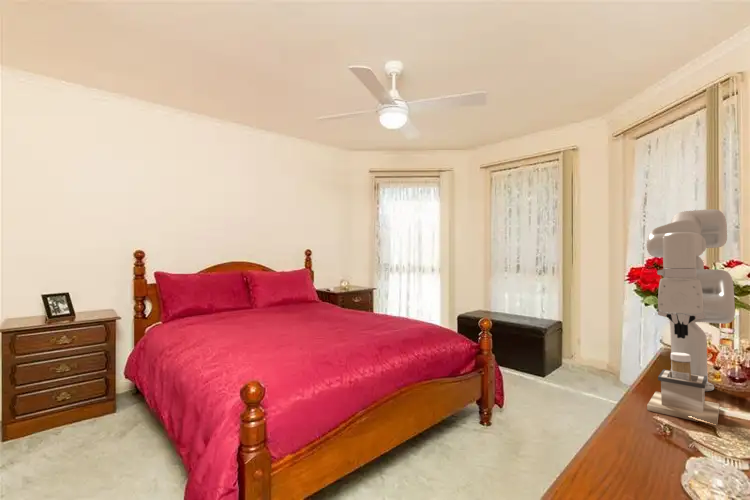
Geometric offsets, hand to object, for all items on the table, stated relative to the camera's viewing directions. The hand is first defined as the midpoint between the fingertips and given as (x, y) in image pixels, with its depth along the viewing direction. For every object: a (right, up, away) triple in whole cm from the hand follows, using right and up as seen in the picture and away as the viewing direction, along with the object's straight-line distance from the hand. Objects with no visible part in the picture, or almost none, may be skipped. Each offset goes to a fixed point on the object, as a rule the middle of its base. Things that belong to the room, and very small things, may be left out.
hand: (681, 337), depth 110 cm
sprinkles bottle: (0, -19, 0) cm, 19 cm away
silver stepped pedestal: (0, -21, 0) cm, 21 cm away
